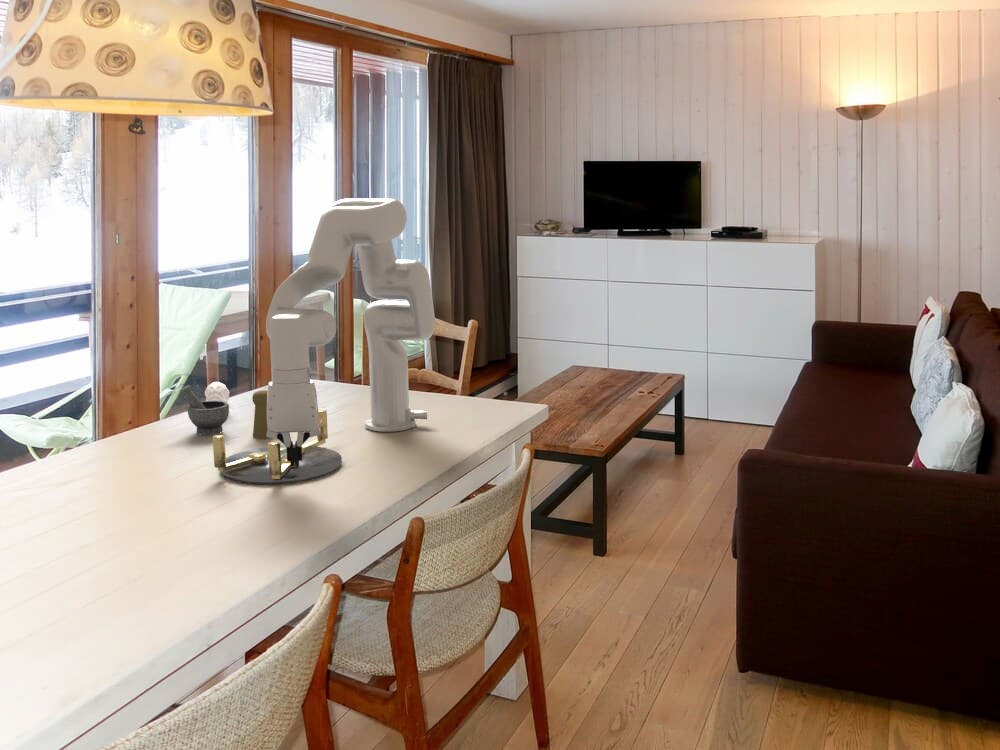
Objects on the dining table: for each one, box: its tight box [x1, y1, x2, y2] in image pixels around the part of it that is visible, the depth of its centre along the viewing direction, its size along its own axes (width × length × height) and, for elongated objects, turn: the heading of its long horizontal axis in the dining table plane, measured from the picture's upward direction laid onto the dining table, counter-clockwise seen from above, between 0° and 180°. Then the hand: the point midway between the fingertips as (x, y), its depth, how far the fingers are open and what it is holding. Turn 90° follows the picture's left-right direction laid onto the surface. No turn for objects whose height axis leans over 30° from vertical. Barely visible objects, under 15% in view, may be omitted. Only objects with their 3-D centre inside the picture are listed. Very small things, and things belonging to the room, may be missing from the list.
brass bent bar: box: [302, 409, 329, 455], centre depth 230 cm, size 13×4×8 cm, turn 153°
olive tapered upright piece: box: [251, 389, 270, 439], centre depth 247 cm, size 6×6×11 cm
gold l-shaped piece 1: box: [212, 434, 267, 472], centre depth 217 cm, size 13×4×8 cm, turn 143°
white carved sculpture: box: [204, 381, 230, 403], centre depth 266 cm, size 6×8×12 cm
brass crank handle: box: [267, 441, 297, 479], centre depth 213 cm, size 13×4×8 cm, turn 175°
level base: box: [219, 444, 343, 486], centre depth 222 cm, size 26×26×4 cm
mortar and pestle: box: [179, 384, 230, 436], centre depth 250 cm, size 11×9×12 cm
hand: (294, 464), depth 208 cm, fingers closed
